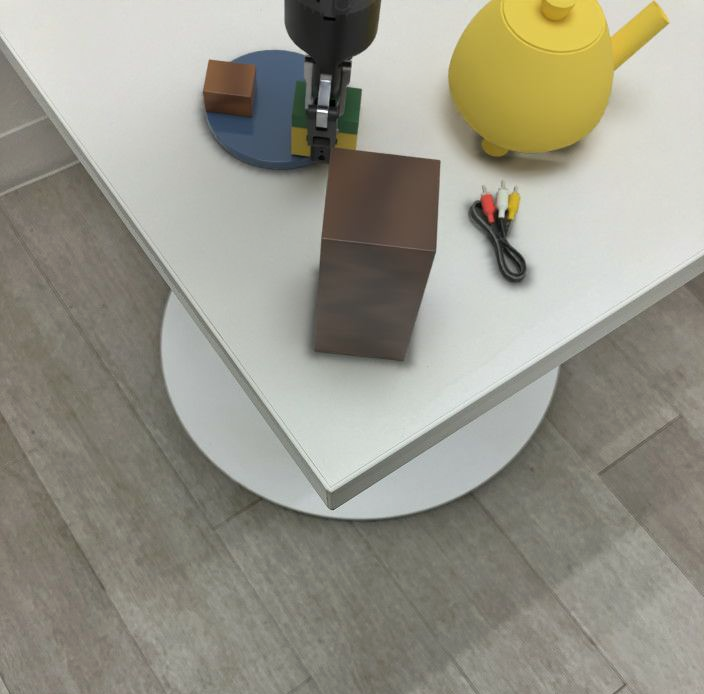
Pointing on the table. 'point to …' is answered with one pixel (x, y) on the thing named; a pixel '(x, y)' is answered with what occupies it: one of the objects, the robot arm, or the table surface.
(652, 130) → the table surface
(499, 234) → the composite cable
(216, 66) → the brown square block
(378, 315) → the tall dark wooden block
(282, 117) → the plate
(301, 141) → the sponge
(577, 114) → the teapot
